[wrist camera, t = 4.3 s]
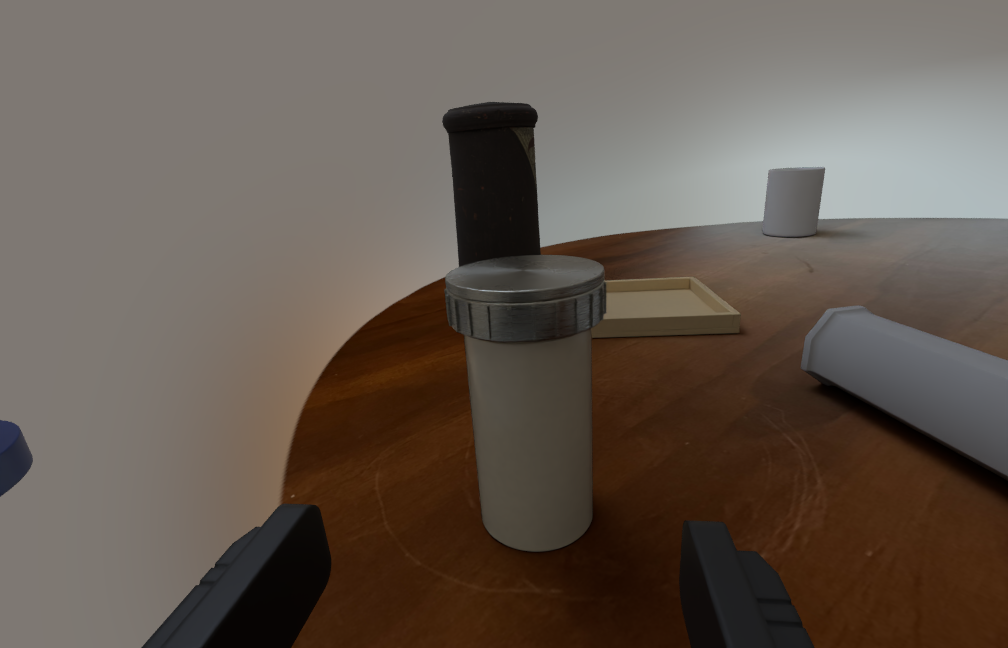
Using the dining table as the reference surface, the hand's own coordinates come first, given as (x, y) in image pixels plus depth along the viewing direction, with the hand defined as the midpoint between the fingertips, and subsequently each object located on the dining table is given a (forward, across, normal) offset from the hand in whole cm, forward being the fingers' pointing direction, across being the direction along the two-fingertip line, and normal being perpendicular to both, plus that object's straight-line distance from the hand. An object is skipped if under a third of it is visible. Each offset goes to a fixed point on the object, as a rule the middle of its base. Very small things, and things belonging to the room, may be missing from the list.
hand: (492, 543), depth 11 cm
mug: (+82, -38, +7) cm, 90 cm away
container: (+39, +6, +7) cm, 40 cm away
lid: (+10, 0, -4) cm, 10 cm away
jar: (+10, 0, +7) cm, 12 cm away
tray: (+38, -8, +7) cm, 40 cm away
